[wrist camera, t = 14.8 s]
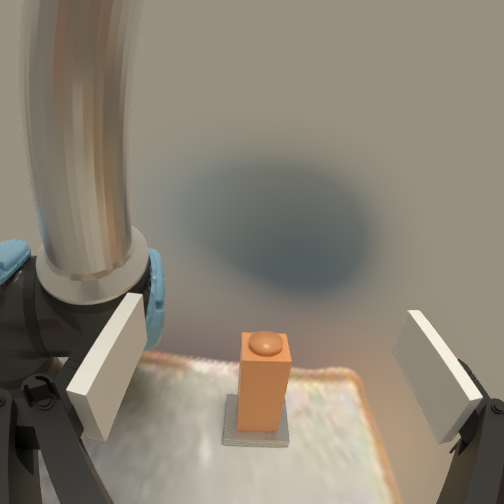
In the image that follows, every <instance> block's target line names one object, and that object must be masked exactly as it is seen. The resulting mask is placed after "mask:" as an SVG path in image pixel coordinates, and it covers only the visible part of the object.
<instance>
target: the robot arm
mask: <svg viewBox="0 0 504 504" xmlns="http://www.w3.org/2000/svg"><path fill="white" fill-rule="evenodd" d="M145 5H146V0H22V4H21V15H20V24H19V40H18V96H19V112H20V124H21V134H22V143H23V150H24V157H25V164H26V170H27V176H28V181H29V187H30V191H31V196H32V201H33V206H34V210H35V214H36V218H37V222H38V226H39V230H40V234H41V238H42V242H43V244H42V246H41V247H40V250H39V252H38V255H37V256H32V255H31V249H30V247H29V245H28V244H27V242H26V241H23V240H21V241H20V240H8V241H4V242H0V504H42V497H41V488H40V477H39V463H38V450H41V453H42V456H43V459H44V462H45V465H46V468H47V470H48V473H49V476H50V479H51V481H52V484H53V486H54V489H55V491H56V494H57V496H58V499H59V501H60V503H61V504H114V503H113V501H112V499H111V498H110V496H109V494H108V492H107V491H106V489H105V487H104V485H103V483H102V481H101V479H100V477H99V475H98V474H97V472H96V470H95V468H94V466H93V464H92V461H91V459H90V457H89V455H88V453H87V451H86V449H85V446H84V444H83V442H82V440H81V438H80V437H81V434H82V432H83V430H84V431H85V433H86V435H87V437H88V438H90V439H93V440H97V441H101V442H104V443H106V441H107V438H108V435H109V433H110V430H111V428H112V425H113V422H114V420H115V417H116V415H117V412H118V410H119V407H120V405H121V402H122V400H123V397H124V395H125V392H126V390H127V387H128V385H129V383H130V380H131V378H132V375H133V373H134V371H135V368H136V366H137V364H138V361H139V359H140V357H141V354H142V352H143V351H148V350H151V349H153V348H155V347H156V345H158V343H159V341H160V339H161V336H162V332H163V325H164V305H163V303H164V295H165V289H164V274H163V266H162V261H161V257H160V255H159V252H158V251H157V250H155V249H153V248H149V247H148V246H147V243H146V241H145V239H144V237H143V235H142V234H141V233H140V232H139V231H138V230H137V229H136V228H135V227H133V226H132V219H131V137H132V118H133V102H134V90H135V79H136V69H137V59H138V52H139V44H140V37H141V29H142V23H143V17H144V11H145ZM392 353H393V355H394V357H395V358H396V360H397V362H398V364H399V366H400V368H401V370H402V372H403V374H404V375H405V377H406V379H407V381H408V383H409V385H410V387H411V389H412V391H413V393H414V395H415V397H416V399H417V401H418V403H419V405H420V406H421V409H422V411H423V413H424V415H425V417H426V419H427V421H428V423H429V425H430V427H431V429H432V431H433V434H434V436H435V438H436V440H437V442H438V444H442V443H446V442H449V441H452V440H453V439H454V437H455V436H456V435H457V433H458V432H459V433H460V435H461V438H460V439H459V441H458V442H457V443H456V444H455V446H454V447H453V448H452V449H451V451H450V453H452V452H453V451H454V450H455V449H456V450H455V453H454V456H453V459H452V463H451V466H450V469H449V472H448V475H447V477H446V480H445V483H444V486H443V488H442V491H441V493H440V496H439V498H438V501H437V503H436V504H504V402H503V401H501V400H499V399H495V398H494V399H490V397H489V396H488V394H487V393H486V391H485V390H484V388H483V387H482V385H481V384H480V383H479V381H478V380H476V377H475V375H474V374H472V371H471V370H470V369H469V367H468V366H467V365H466V364H465V363H464V362H462V361H461V360H460V359H456V358H455V356H454V355H453V354H452V352H451V351H450V349H449V348H448V347H447V345H446V344H445V343H444V341H443V340H442V339H441V337H440V336H439V335H438V333H437V332H436V331H435V329H434V328H433V327H432V326H431V324H430V323H429V322H428V320H427V319H426V318H425V317H424V315H423V314H422V313H421V312H420V310H408V311H407V314H406V317H405V319H404V322H403V325H402V328H401V330H400V333H399V336H398V338H397V341H396V344H395V346H394V349H393V351H392ZM57 357H69V358H68V360H67V361H66V362H65V364H64V365H63V364H62V363H61V361H60V360H59V359H58V358H57Z"/></svg>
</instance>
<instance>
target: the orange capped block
mask: <svg viewBox="0 0 504 504" xmlns="http://www.w3.org/2000/svg"><path fill="white" fill-rule="evenodd" d="M240 354H241V355H240V367H239V382H238V397H237V431H277V430H278V426H279V421H280V417H281V412H282V408H283V403H284V398H285V393H286V388H287V383H288V378H289V373H290V368H291V363H292V360H291V356H290V351H289V346H288V342H287V337H286V334H276V333H274V332H270V331H259V332H255V333H244V332H242V340H241V353H240Z"/></svg>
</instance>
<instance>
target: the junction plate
mask: <svg viewBox="0 0 504 504" xmlns="http://www.w3.org/2000/svg"><path fill="white" fill-rule="evenodd" d="M237 397H238V395H233V394H227V402H226V413H225V424H224V436H223V445H232V446H251V447H288V444H289V433H288V423H287V413H286V404H285V398H284V403H283V408H282V412H281V417H280V421H279V426H278V430H277V431H237Z"/></svg>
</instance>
